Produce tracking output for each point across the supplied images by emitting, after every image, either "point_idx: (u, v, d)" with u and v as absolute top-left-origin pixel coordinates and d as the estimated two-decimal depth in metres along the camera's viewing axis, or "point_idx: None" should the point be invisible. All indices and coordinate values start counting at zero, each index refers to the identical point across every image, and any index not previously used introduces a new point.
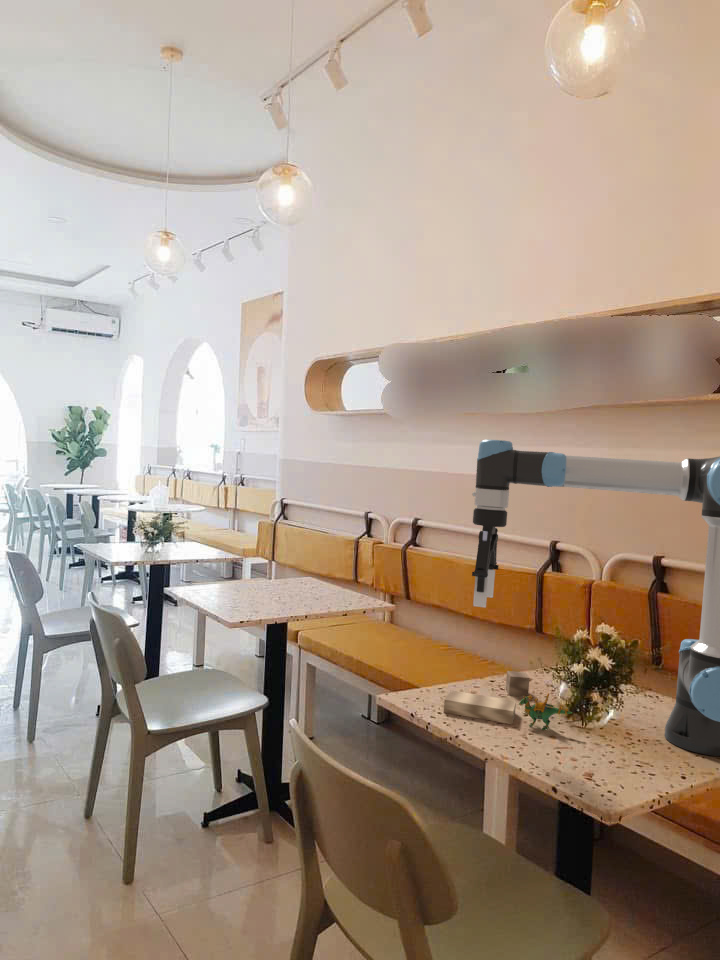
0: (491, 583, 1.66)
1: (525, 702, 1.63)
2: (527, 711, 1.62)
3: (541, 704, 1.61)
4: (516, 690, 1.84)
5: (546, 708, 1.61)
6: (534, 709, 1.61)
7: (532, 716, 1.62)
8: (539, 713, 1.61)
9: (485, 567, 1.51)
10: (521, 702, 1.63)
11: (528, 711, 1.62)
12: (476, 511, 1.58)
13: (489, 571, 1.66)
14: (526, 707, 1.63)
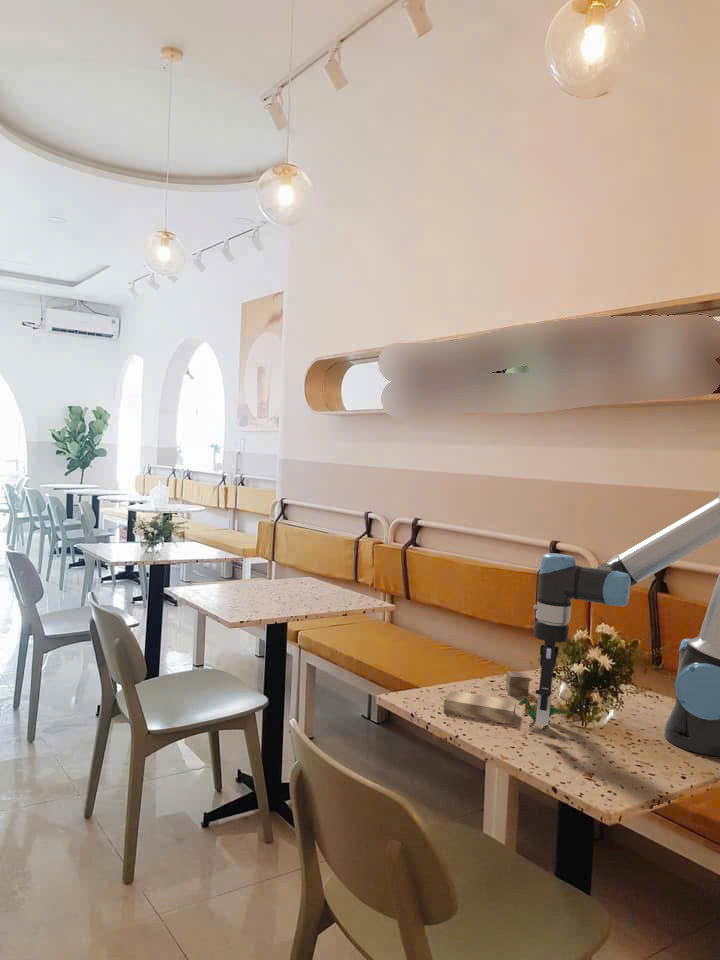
0: None
1: (525, 702, 1.63)
2: (527, 711, 1.62)
3: None
4: (516, 690, 1.84)
5: None
6: (534, 709, 1.61)
7: (532, 716, 1.62)
8: None
9: (549, 687, 1.52)
10: (521, 702, 1.63)
11: (528, 711, 1.62)
12: (538, 625, 1.60)
13: None
14: (526, 707, 1.63)
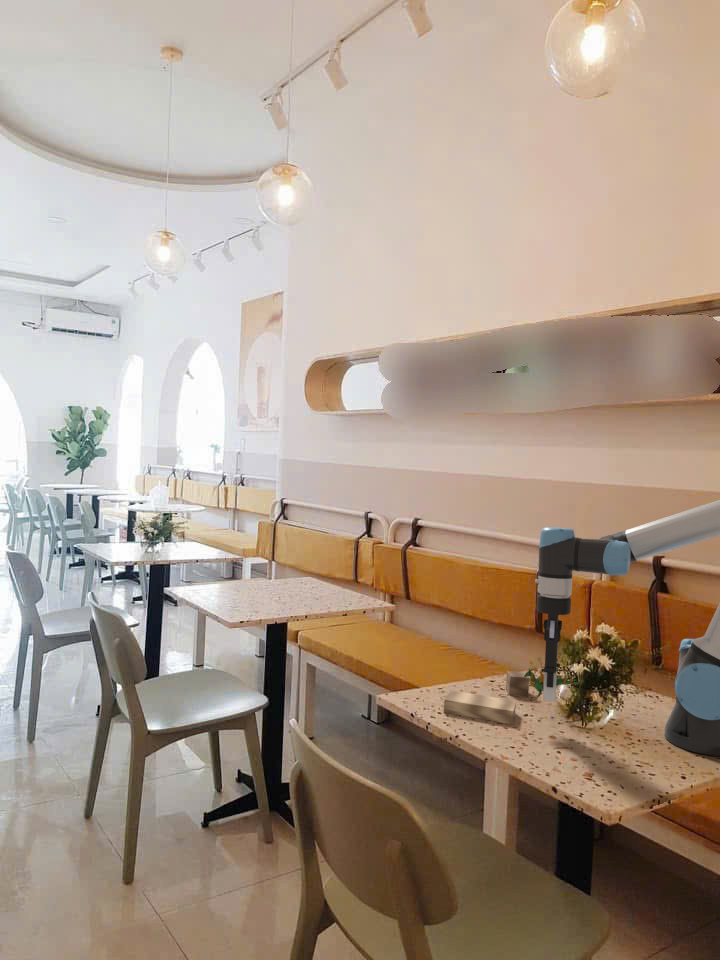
0: None
1: (530, 674, 1.63)
2: (532, 683, 1.62)
3: None
4: (516, 690, 1.84)
5: None
6: (539, 681, 1.61)
7: (537, 688, 1.61)
8: None
9: (554, 666, 1.56)
10: (526, 674, 1.63)
11: (533, 683, 1.62)
12: (540, 599, 1.59)
13: None
14: (531, 679, 1.62)
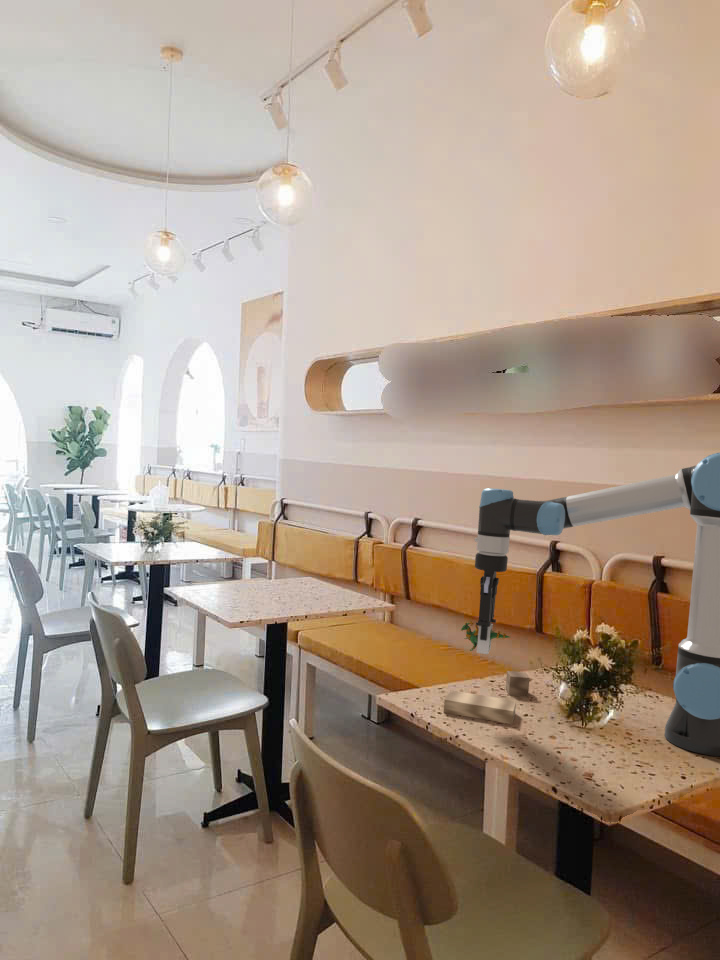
0: None
1: (466, 628, 1.70)
2: (468, 636, 1.69)
3: None
4: (516, 690, 1.84)
5: None
6: (474, 634, 1.68)
7: (472, 641, 1.69)
8: None
9: (488, 619, 1.63)
10: (462, 628, 1.70)
11: (469, 636, 1.69)
12: (478, 556, 1.67)
13: None
14: (467, 632, 1.70)
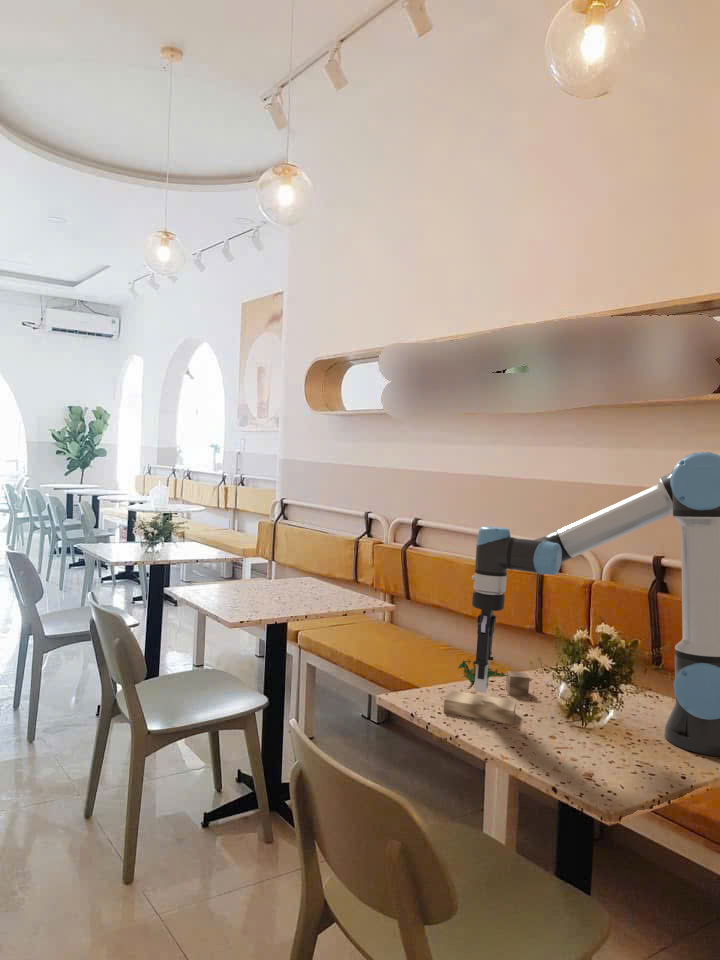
0: None
1: (464, 666, 1.70)
2: (465, 674, 1.69)
3: None
4: (516, 690, 1.84)
5: None
6: (472, 672, 1.69)
7: (470, 679, 1.69)
8: None
9: (485, 658, 1.63)
10: (460, 666, 1.70)
11: (466, 674, 1.69)
12: (475, 595, 1.67)
13: None
14: (464, 670, 1.70)
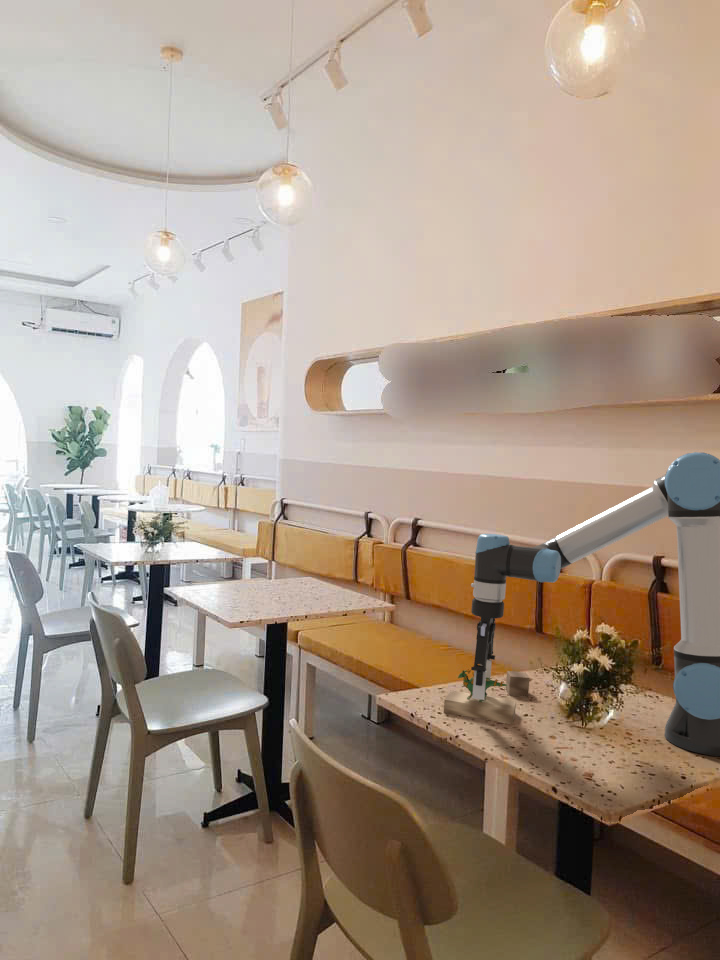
0: (488, 673, 1.73)
1: (463, 675, 1.70)
2: (465, 684, 1.69)
3: None
4: (516, 690, 1.84)
5: None
6: (471, 682, 1.68)
7: (470, 689, 1.69)
8: None
9: (483, 664, 1.60)
10: (460, 676, 1.70)
11: (466, 684, 1.69)
12: (474, 603, 1.67)
13: (486, 661, 1.73)
14: (464, 680, 1.70)
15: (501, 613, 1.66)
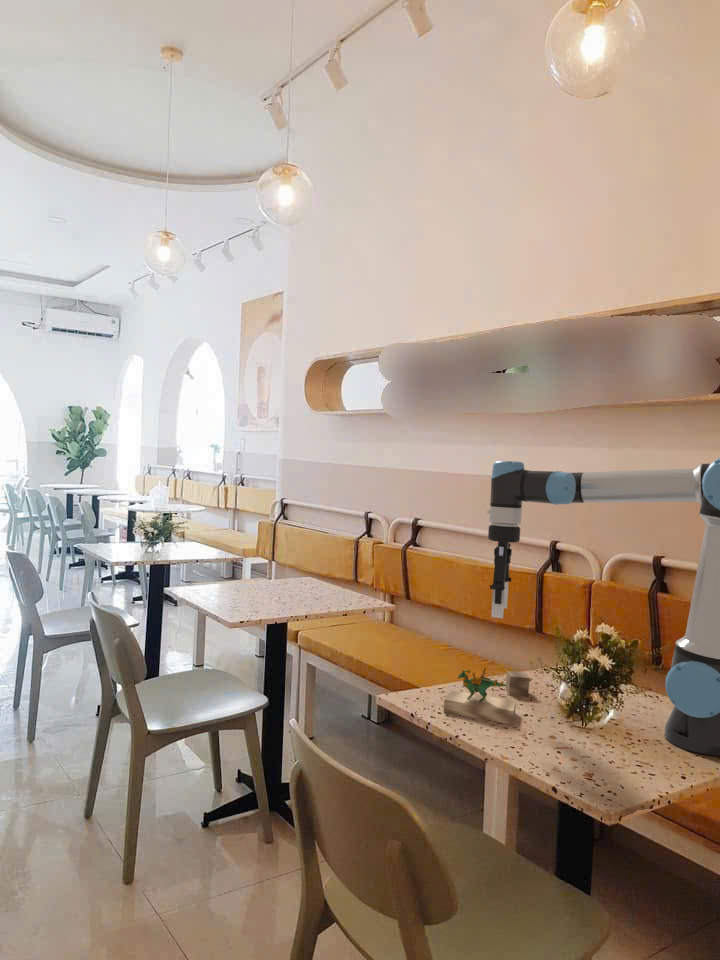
0: (505, 595, 1.77)
1: (463, 676, 1.70)
2: (465, 684, 1.69)
3: (478, 677, 1.68)
4: (516, 690, 1.84)
5: (483, 681, 1.68)
6: (471, 682, 1.68)
7: (470, 689, 1.69)
8: (476, 686, 1.68)
9: (502, 580, 1.61)
10: (459, 676, 1.70)
11: (466, 684, 1.69)
12: (491, 528, 1.69)
13: None
14: (464, 680, 1.70)
15: (518, 537, 1.69)
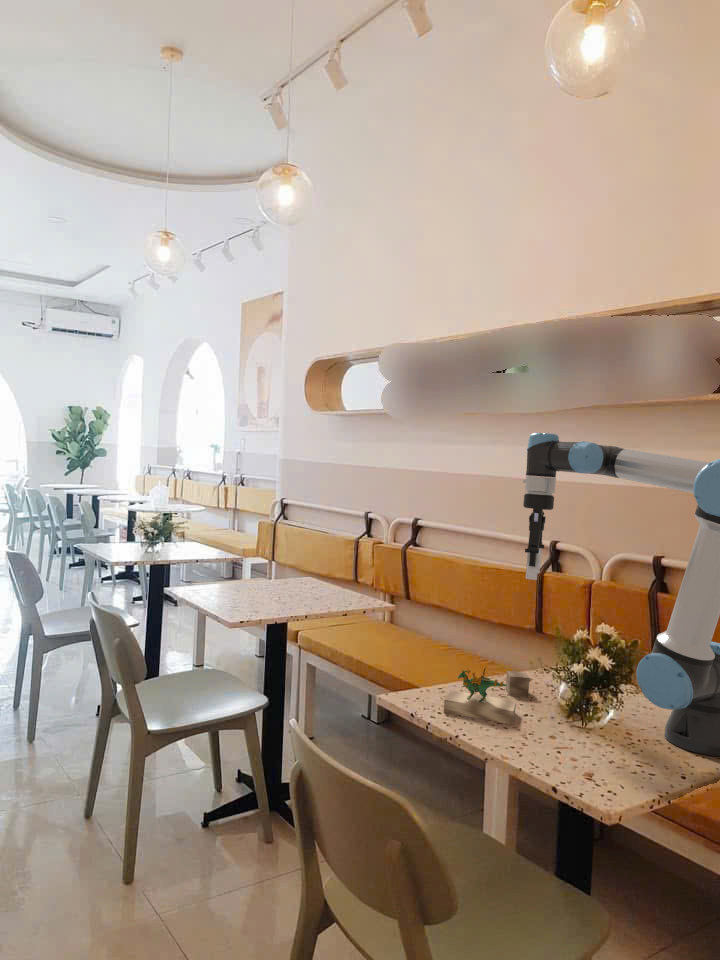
0: (538, 560, 1.88)
1: (463, 676, 1.70)
2: (465, 684, 1.69)
3: (478, 677, 1.68)
4: (516, 690, 1.84)
5: (483, 681, 1.68)
6: (471, 682, 1.68)
7: (470, 689, 1.69)
8: (476, 686, 1.68)
9: (537, 544, 1.72)
10: (459, 676, 1.70)
11: (466, 684, 1.69)
12: (527, 496, 1.80)
13: None
14: (464, 680, 1.70)
15: (552, 505, 1.79)
